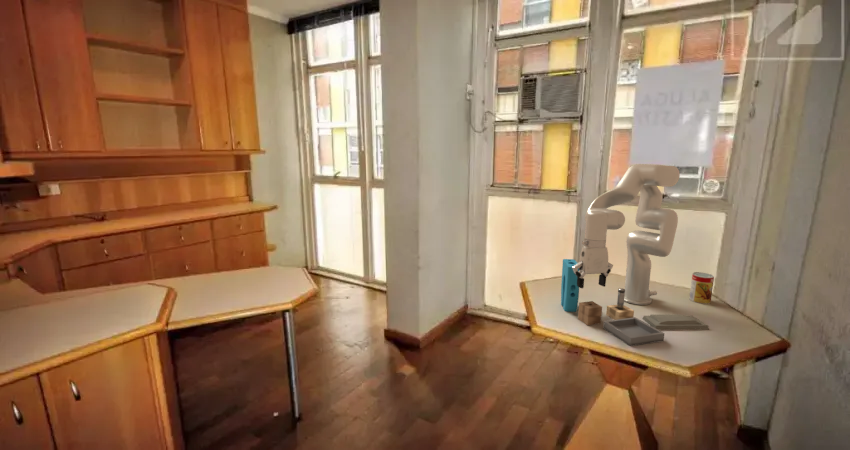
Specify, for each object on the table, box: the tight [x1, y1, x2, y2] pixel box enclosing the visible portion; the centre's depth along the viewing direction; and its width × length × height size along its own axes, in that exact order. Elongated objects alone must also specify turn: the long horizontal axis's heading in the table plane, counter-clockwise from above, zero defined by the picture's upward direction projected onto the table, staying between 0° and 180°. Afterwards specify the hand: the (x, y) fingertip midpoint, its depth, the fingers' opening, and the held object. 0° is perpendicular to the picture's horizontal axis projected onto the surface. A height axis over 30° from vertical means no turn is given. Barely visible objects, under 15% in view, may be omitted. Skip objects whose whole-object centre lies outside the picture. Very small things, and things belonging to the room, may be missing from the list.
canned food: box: [688, 271, 715, 305], centre depth 176 cm, size 8×8×12 cm
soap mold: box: [642, 313, 710, 331], centre depth 154 cm, size 10×20×4 cm, turn 89°
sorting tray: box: [602, 316, 666, 347], centre depth 146 cm, size 14×14×3 cm
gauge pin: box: [616, 287, 625, 310], centre depth 159 cm, size 2×2×12 cm
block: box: [560, 258, 580, 313], centre depth 169 cm, size 12×5×20 cm, turn 172°
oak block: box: [605, 304, 635, 320], centre depth 160 cm, size 7×7×4 cm
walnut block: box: [577, 300, 603, 326], centre depth 157 cm, size 6×6×7 cm
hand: (591, 286), depth 154 cm, fingers open, 9 cm apart
